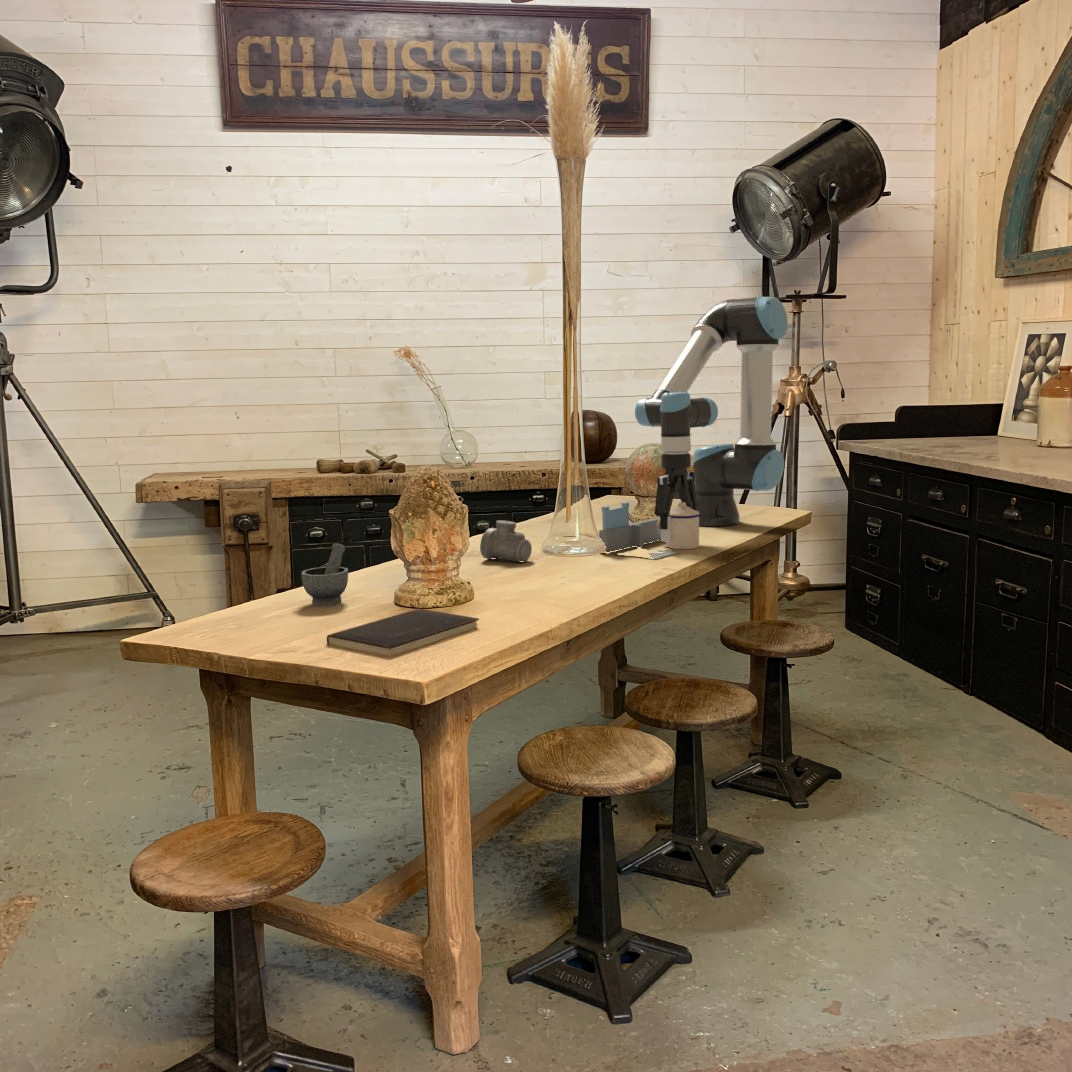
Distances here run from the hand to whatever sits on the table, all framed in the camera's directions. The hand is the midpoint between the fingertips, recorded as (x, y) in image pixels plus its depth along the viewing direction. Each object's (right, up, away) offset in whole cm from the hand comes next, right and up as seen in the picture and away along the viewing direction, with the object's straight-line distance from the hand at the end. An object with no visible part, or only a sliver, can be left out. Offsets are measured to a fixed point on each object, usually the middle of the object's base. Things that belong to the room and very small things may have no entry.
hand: (676, 538), depth 270 cm
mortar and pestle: (-80, -13, -53) cm, 97 cm away
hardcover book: (-61, -18, -82) cm, 104 cm away
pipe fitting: (-44, -6, -13) cm, 46 cm away
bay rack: (-5, -3, -2) cm, 6 cm away
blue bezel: (-16, +3, -4) cm, 17 cm away
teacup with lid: (0, -2, 0) cm, 2 cm away
